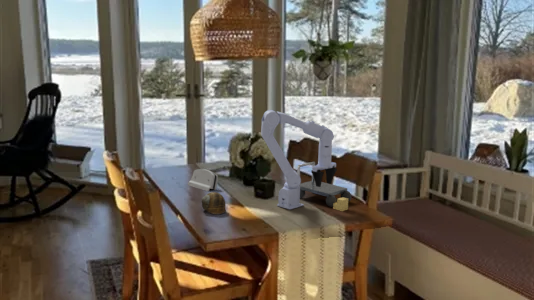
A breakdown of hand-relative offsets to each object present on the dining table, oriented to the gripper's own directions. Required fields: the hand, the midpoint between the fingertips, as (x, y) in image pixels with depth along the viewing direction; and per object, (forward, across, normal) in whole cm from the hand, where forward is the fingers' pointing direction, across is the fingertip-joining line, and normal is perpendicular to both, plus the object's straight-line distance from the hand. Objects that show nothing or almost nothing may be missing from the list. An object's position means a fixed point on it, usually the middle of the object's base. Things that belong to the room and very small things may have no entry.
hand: (323, 184), depth 222 cm
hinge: (+10, -21, +60) cm, 64 cm away
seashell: (+10, -42, +26) cm, 50 cm away
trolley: (+9, +7, +6) cm, 13 cm away
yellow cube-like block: (+10, +2, -9) cm, 13 cm away
